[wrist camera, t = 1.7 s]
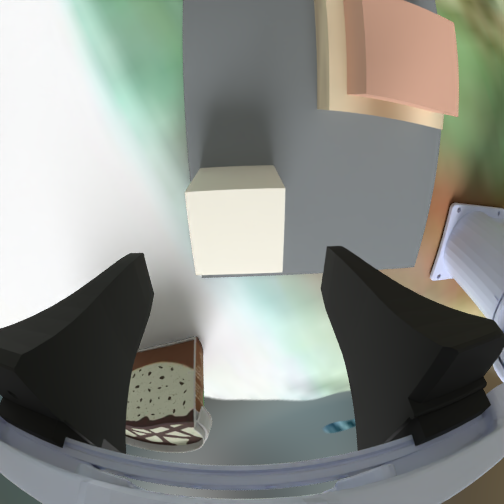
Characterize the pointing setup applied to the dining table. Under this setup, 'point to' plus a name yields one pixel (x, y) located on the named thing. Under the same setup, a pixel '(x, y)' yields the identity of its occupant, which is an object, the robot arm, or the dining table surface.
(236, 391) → the dining table surface
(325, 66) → the bottom slab
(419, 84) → the middle block
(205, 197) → the top block
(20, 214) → the dining table surface
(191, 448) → the food container
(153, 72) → the dining table surface
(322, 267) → the mat
